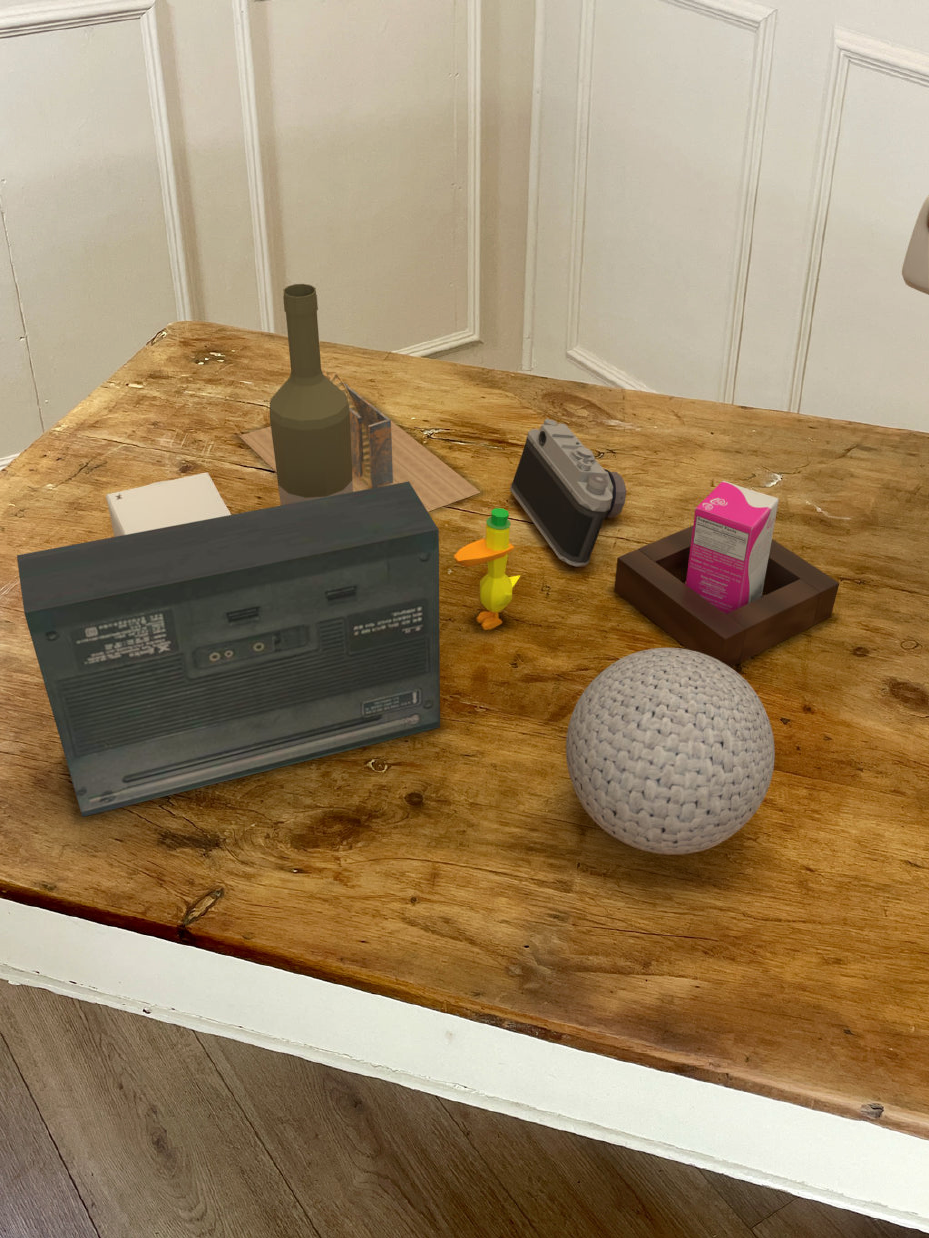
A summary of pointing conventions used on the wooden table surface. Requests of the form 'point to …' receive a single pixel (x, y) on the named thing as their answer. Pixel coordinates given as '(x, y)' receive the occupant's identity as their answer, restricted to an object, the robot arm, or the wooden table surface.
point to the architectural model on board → (383, 455)
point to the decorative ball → (670, 751)
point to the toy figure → (492, 567)
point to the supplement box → (731, 546)
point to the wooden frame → (702, 627)
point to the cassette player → (237, 642)
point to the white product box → (165, 504)
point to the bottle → (309, 413)
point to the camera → (566, 491)
